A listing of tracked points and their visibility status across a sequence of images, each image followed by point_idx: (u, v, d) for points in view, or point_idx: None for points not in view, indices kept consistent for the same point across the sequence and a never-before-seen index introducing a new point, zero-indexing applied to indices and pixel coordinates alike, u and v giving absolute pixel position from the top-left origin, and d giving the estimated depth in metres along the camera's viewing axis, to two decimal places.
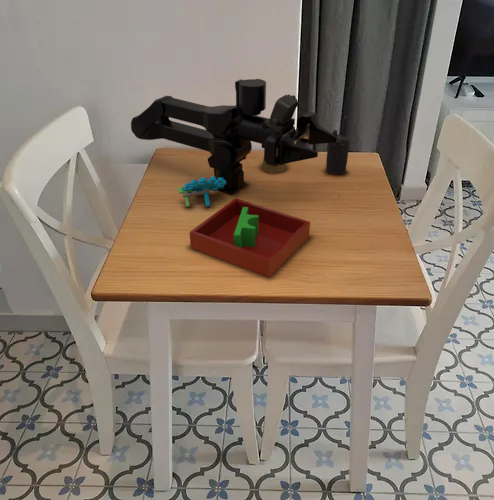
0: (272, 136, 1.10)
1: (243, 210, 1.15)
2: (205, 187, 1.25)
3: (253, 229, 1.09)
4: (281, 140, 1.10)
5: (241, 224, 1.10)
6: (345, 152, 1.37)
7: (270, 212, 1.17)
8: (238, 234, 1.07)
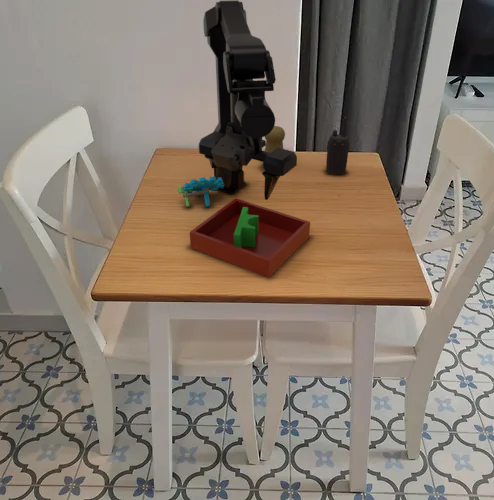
0: (201, 147, 1.04)
1: (243, 210, 1.15)
2: (205, 187, 1.25)
3: (253, 229, 1.09)
4: (205, 156, 1.05)
5: (241, 224, 1.10)
6: (345, 152, 1.37)
7: (270, 212, 1.17)
8: (238, 234, 1.07)
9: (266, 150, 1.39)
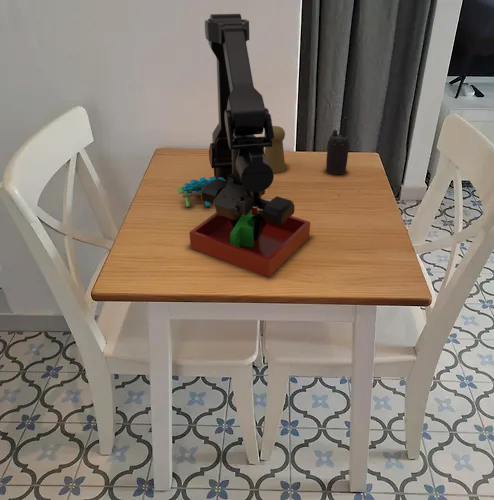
0: (204, 195, 1.10)
1: None
2: None
3: (251, 229, 1.09)
4: None
5: (241, 223, 1.10)
6: (345, 152, 1.37)
7: None
8: (234, 233, 1.07)
9: (266, 150, 1.39)
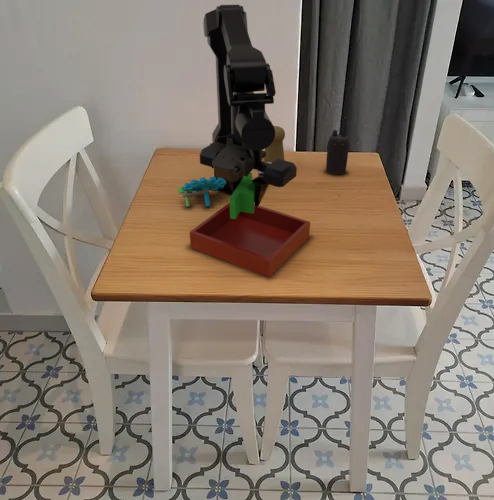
0: (202, 158, 1.05)
1: None
2: (205, 187, 1.25)
3: (251, 194, 1.05)
4: None
5: (240, 188, 1.06)
6: (345, 152, 1.37)
7: (270, 212, 1.17)
8: (234, 197, 1.03)
9: (266, 150, 1.39)
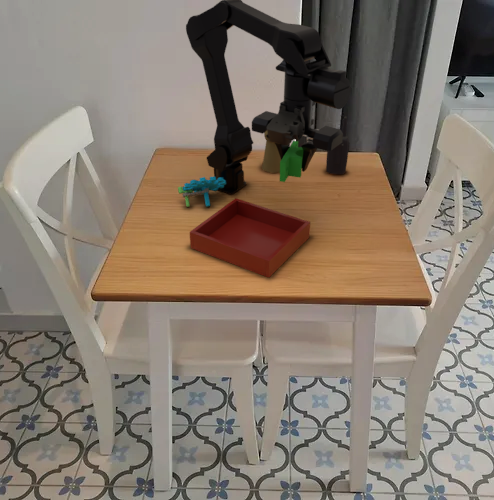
0: (254, 125, 1.14)
1: (293, 143, 1.19)
2: (205, 187, 1.25)
3: (299, 159, 1.13)
4: (266, 136, 1.14)
5: (289, 153, 1.14)
6: (345, 152, 1.37)
7: (270, 212, 1.17)
8: (284, 161, 1.11)
9: (266, 150, 1.39)
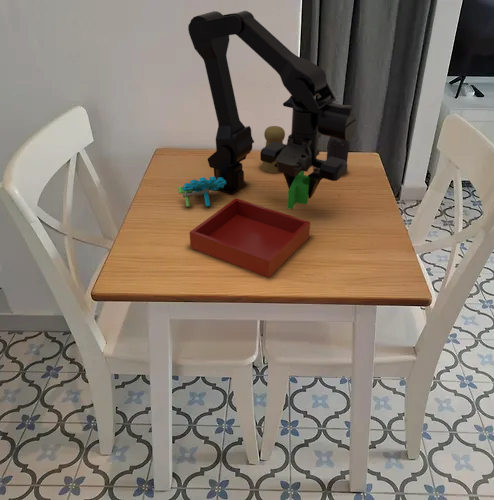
0: (263, 156, 1.20)
1: None
2: (205, 187, 1.25)
3: (306, 187, 1.19)
4: None
5: (296, 182, 1.21)
6: (345, 152, 1.37)
7: (270, 212, 1.17)
8: (292, 190, 1.18)
9: None
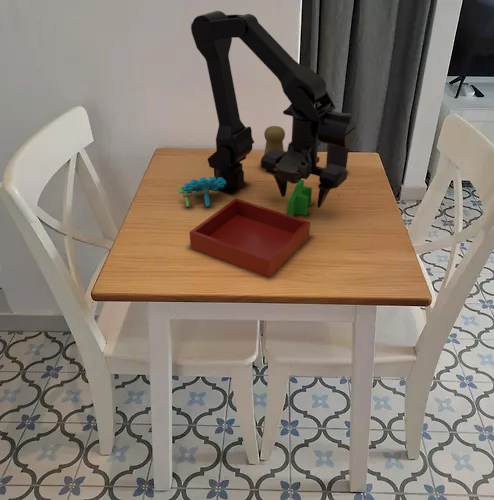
0: (263, 163, 1.21)
1: (299, 182, 1.27)
2: (205, 187, 1.25)
3: (306, 198, 1.21)
4: (266, 171, 1.22)
5: (296, 193, 1.22)
6: (345, 152, 1.37)
7: (270, 212, 1.17)
8: (292, 201, 1.19)
9: (266, 150, 1.39)
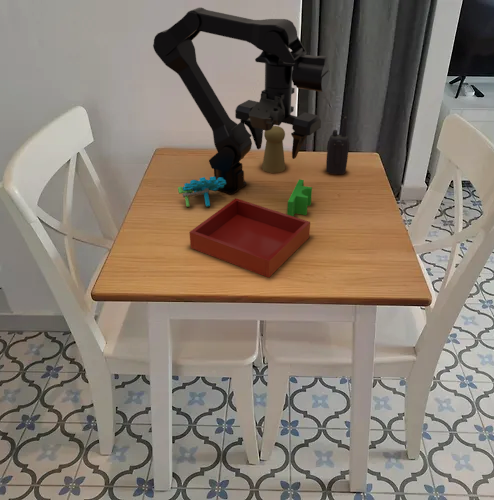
0: (238, 113, 1.20)
1: (299, 182, 1.27)
2: (205, 187, 1.25)
3: (306, 198, 1.21)
4: None
5: (296, 193, 1.22)
6: (345, 152, 1.37)
7: (270, 212, 1.17)
8: (292, 201, 1.19)
9: (266, 150, 1.39)
